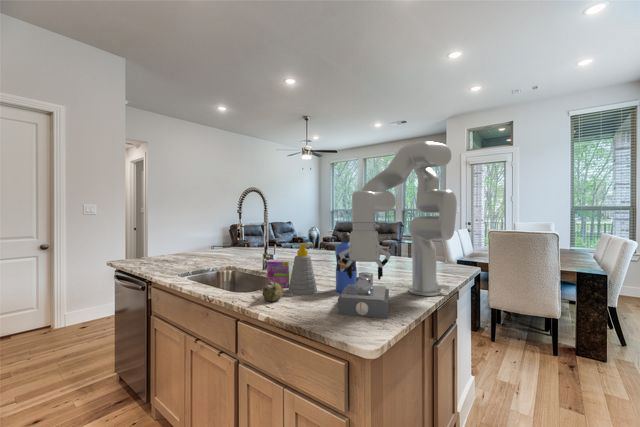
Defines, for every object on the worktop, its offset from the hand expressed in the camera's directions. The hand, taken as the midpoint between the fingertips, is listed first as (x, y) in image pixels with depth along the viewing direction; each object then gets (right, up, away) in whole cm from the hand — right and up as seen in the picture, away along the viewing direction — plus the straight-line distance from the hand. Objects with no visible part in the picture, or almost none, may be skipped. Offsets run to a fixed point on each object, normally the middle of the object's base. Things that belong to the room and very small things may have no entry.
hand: (364, 278), depth 97 cm
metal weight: (+1, -5, +7) cm, 8 cm away
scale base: (0, -11, +3) cm, 12 cm away
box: (-34, -12, +35) cm, 50 cm away
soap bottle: (-23, -12, +26) cm, 36 cm away
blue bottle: (-4, -11, +26) cm, 29 cm away
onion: (-33, -12, +13) cm, 37 cm away
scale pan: (0, -6, +3) cm, 7 cm away
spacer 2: (-1, -5, -1) cm, 5 cm away
